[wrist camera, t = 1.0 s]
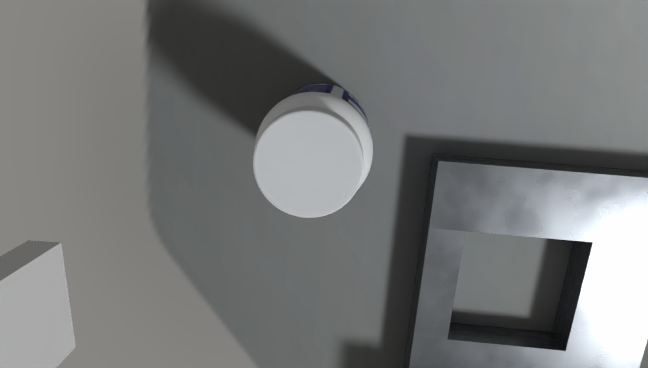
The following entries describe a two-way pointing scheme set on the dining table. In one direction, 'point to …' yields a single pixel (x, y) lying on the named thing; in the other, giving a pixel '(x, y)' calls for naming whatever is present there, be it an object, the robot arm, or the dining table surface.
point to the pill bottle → (313, 151)
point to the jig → (542, 222)
